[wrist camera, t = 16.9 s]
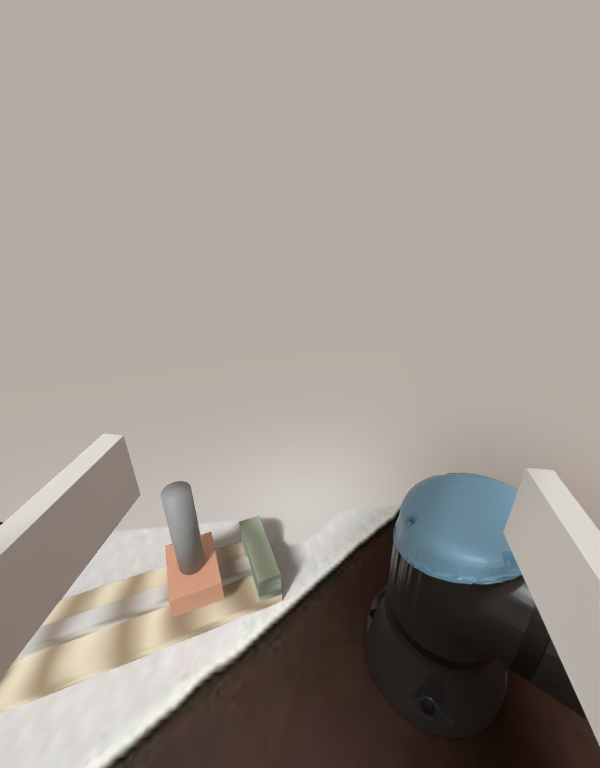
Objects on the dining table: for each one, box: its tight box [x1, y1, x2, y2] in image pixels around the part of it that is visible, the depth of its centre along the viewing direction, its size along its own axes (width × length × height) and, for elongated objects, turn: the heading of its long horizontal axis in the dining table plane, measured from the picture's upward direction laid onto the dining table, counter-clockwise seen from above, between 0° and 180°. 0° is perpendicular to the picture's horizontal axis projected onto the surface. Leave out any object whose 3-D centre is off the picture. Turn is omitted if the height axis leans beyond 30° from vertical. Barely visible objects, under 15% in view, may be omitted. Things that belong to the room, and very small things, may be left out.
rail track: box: [0, 516, 282, 714], centre depth 43 cm, size 36×10×6 cm, turn 112°
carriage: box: [161, 481, 224, 617], centre depth 42 cm, size 6×8×16 cm
